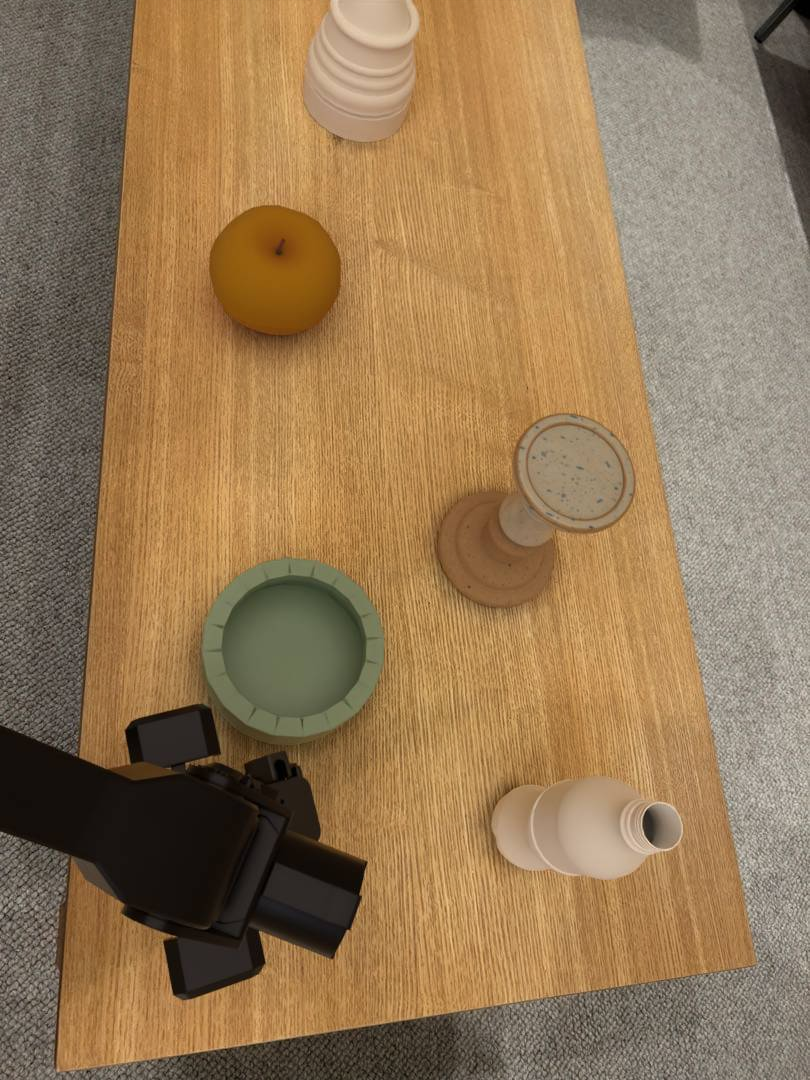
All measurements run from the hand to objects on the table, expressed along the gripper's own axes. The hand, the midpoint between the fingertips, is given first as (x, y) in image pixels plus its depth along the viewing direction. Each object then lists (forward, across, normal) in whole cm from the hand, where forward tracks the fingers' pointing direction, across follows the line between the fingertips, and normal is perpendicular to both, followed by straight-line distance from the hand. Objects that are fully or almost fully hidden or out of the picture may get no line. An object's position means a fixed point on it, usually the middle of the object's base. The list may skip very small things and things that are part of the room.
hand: (195, 841), depth 65 cm
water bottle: (+4, -7, -28) cm, 29 cm away
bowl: (+3, +13, -11) cm, 17 cm away
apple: (+4, +50, -18) cm, 53 cm away
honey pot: (+3, +78, -35) cm, 86 cm away
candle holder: (+4, +19, -34) cm, 39 cm away
